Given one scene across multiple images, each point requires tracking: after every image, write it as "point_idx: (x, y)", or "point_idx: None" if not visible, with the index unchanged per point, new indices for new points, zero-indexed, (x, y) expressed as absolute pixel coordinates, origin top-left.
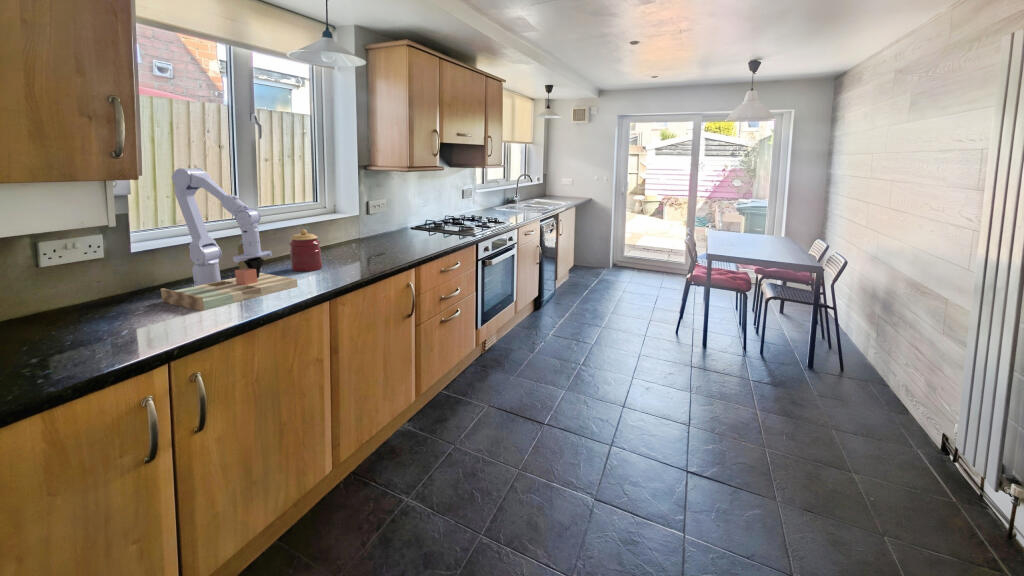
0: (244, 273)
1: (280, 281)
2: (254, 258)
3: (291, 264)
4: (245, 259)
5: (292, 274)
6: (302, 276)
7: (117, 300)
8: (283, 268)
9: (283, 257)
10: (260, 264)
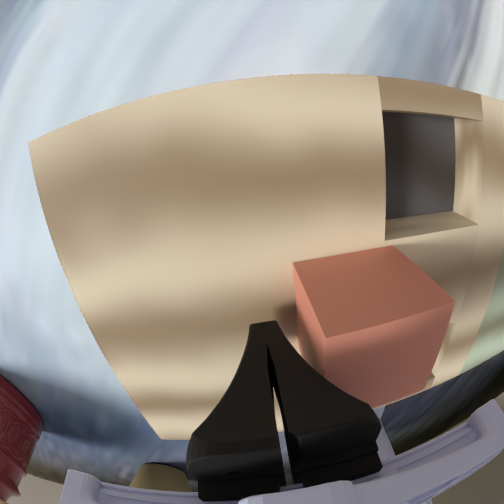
0: (440, 292)
1: (144, 144)
2: (285, 489)
3: (36, 434)
4: (405, 462)
5: (40, 386)
6: (7, 333)
7: (494, 385)
8: (66, 445)
9: None
10: (239, 406)
